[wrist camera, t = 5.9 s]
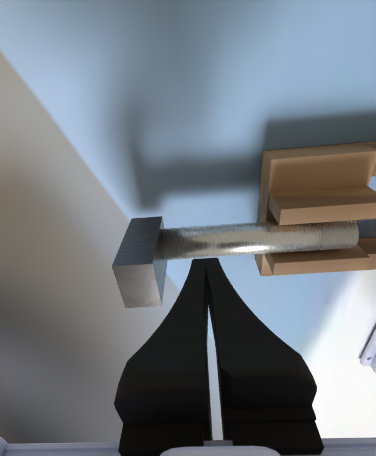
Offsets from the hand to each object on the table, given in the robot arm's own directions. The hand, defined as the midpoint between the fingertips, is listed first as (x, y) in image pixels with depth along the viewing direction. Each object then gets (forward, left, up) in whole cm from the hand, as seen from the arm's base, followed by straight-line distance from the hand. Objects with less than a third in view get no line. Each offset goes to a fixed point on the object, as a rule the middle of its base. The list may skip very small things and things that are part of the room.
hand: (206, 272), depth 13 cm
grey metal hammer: (0, -2, -4) cm, 4 cm away
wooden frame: (0, -11, -6) cm, 12 cm away
